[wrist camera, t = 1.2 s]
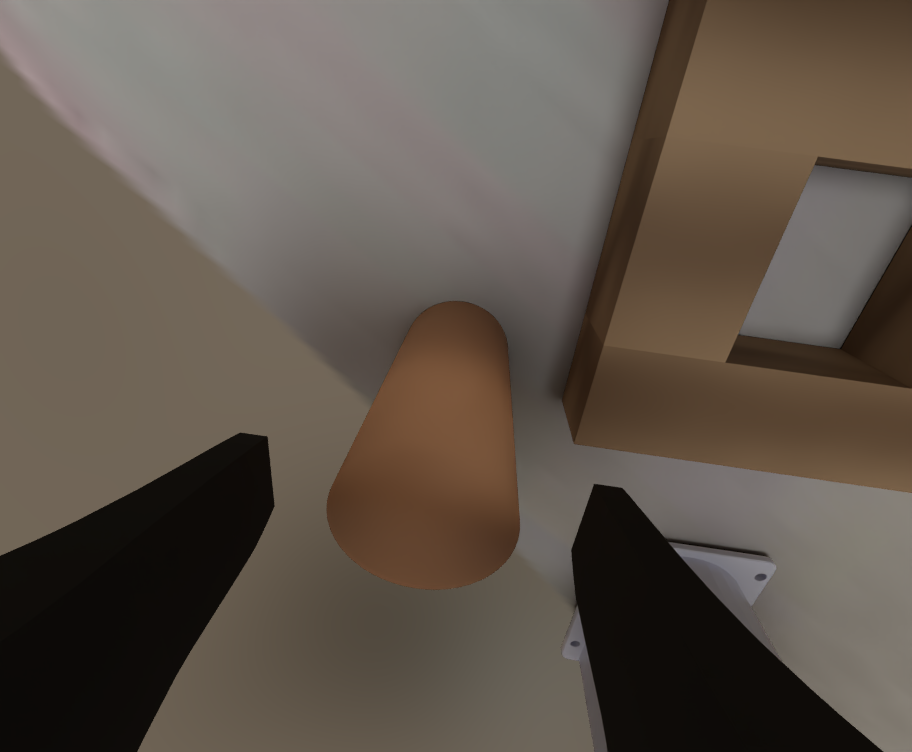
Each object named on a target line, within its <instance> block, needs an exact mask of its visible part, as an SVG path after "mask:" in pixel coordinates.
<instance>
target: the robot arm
mask: <svg viewBox="0 0 912 752" xmlns="http://www.w3.org/2000/svg"><path fill="white" fill-rule="evenodd" d="M273 508H274V497H273V487H272V477H271V467H270V457H269V448H268V437H267V436H260V435H253V434H246V433H239V434H237V435H235V436H233V437H231V438H229V439H227V440H225V441H223V442H222V443H220V444H218V445H216V446H214V447H213V448H211V449H209V450H207V451H205V452H204V453H202V454H200V455H198V456H197V457H195V458H193V459H191V460H190V461H188V462H186V463H184V464H183V465H181V466H179V467H177V468H176V469H174V470H172V471H170V472H168V473H167V474H165V475H163V476H161V477H159V478H157V479H156V480H154V481H152V482H151V483H149V484H147V485H145V486H143V487H142V488H140V489H138V490H136V491H134V492H132V493H130V494H128V495H126V496H124V497H122V498H120V499H118V500H116V501H114V502H113V503H110V504H109V505H107V506H105V507H103V508H101V509H99V510H97V511H95V512H93V513H91V514H89V515H87V516H85V517H84V518H82V519H80V520H78V521H76V522H73V523H71V524H69V525H67V526H65V527H63V528H61V529H59V530H57V531H55V532H52V533H51V534H48V535H46V536H44V537H42V538H40V539H37V540H35V541H33V542H31V543H29V544H26V545H24V546H22V547H19V548H17V549H15V550H13V551H10V552H8V553H6V554H4V555H1V556H0V752H137V751H138V749H139V747H140V745H141V743H142V741H143V739H144V737H145V735H146V733H147V731H148V729H149V727H150V725H151V723H152V721H153V719H154V717H155V715H156V713H157V712H158V710H159V708H160V706H161V704H162V702H163V700H164V698H165V696H166V694H167V692H168V690H169V688H170V686H171V685H172V683H173V681H174V679H175V677H176V675H177V673H178V672H179V670H180V668H181V667H182V665H183V663H184V661H185V660H186V658H187V656H188V655H189V653H190V651H191V650H192V648H193V646H194V645H195V643H196V642H197V640H198V639H199V637H200V635H201V634H202V632H203V630H204V629H205V627H206V626H207V624H208V623H209V621H210V619H211V618H212V616H213V615H214V613H215V612H216V610H217V608H218V607H219V605H220V604H221V602H222V600H223V599H224V597H225V596H226V594H227V593H228V591H229V589H230V588H231V586H232V585H233V583H234V581H235V580H236V578H237V577H238V575H239V573H240V572H241V570H242V568H243V567H244V565H245V564H246V562H247V561H248V559H249V557H250V556H251V554H252V552H253V551H254V549H255V547H256V545H257V543H258V541H259V539H260V537H261V535H262V533H263V531H264V528H265V526H266V524H267V522H268V519H269V517H270V515H271V513H272V511H273ZM571 552H572V564H573V576H574V585H575V594H576V600H577V607H576V609H575V612H574V615H573V617H572V620H571V622H570V625H569V628H568V630H567V633H566V635H565V638H564V641H563V644H562V646H561V653H562V656H563V657H564V658H566V659H570V660H576V661H579V662H580V668H581V673H582V680H583V686H584V692H585V698H586V704H587V710H588V716H589V722H590V728H591V734H592V739H593V746H594V752H883V751H882V750H881V749H879V748H878V747H877V746H876V745H875V744H874V743H872V742H871V741H870V740H869V739H868V738H866V737H865V736H864V735H863V734H862V733H861V732H859V731H858V730H857V729H856V728H855V727H854V726H852V725H851V724H850V723H849V722H848V721H846V720H845V719H844V718H843V717H842V716H841V715H839V714H838V713H837V712H836V711H835V710H834V709H833V708H832V707H830V706H829V705H828V704H827V703H826V702H825V701H824V700H823V699H821V698H820V697H819V696H818V695H817V694H816V693H815V692H814V691H812V690H811V689H810V688H809V687H808V686H807V685H806V684H805V683H804V682H803V681H802V680H801V679H800V678H798V677H797V676H796V675H795V674H794V673H793V672H792V671H791V670H790V669H789V668H788V667H787V666H786V665H785V664H784V663H783V662H782V660H781V659H780V657H779V655H778V653H777V652H776V650H775V648H774V646H773V645H772V643H771V641H770V639H769V638H768V636H767V634H766V632H765V631H764V629H763V627H762V625H761V624H760V622H759V620H758V618H757V617H756V615H755V613H754V611H753V610H752V608H751V607H752V605H753V604H754V602H755V601H756V599H757V598H758V596H759V595H760V593H761V592H762V590H763V589H764V587H765V586H766V584H767V583H768V581H769V580H770V578H771V577H772V575H773V574H774V573H775V571H776V568H777V567H776V564H775V563H774V562H773V560H772V559H771V558H770V557H766V556H760V555H753V554H746V553H740V552H733V551H726V550H720V549H713V548H706V547H699V546H693V545H686V544H679V543H672V542H668V541H667V540H666V539H665V538H664V537H663V535H662V534H661V533H660V532H659V531H658V529H657V528H656V527H655V526H654V525H653V524H652V522H651V521H650V520H649V519H648V518H647V516H646V515H645V514H644V513H643V512H642V510H641V509H640V508H639V507H638V506H637V504H636V503H635V502H634V501H633V500H632V499H631V497H630V496H629V495H628V494H627V493H626V492H625V491H624V489H623V488H619V487H612V486H605V485H598V484H594V486H593V489H592V492H591V495H590V497H589V500H588V503H587V506H586V509H585V512H584V515H583V518H582V521H581V523H580V526H579V529H578V532H577V535H576V538H575V541H574V544H573V547H572V550H571Z"/></svg>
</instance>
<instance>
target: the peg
mask: <svg viewBox="0 0 912 752" xmlns="http://www.w3.org/2000/svg"><path fill="white" fill-rule="evenodd" d="M327 519H328V522H329V526H330V530H331V532H332V534H333V536H334V538H335V540H336V541H337V543H338V544H339V546H340V547H341V548H342V550H343V551H344V552H345V553H346V554H347V555H348V556H349V557H350V558H351V559H352V560H353V561H354V562H355V563H357V564H358V565H359V566H360V567H362V568H363V569H365V570H366V571H368V572H370V573H371V574H373V575H375V576H377V577H379V578H381V579H384V580H387V581H389V582H392V583H395V584H398V585H402V586H406V587H411V588H417V589H426V590H440V589H451V588H457V587H462V586H466V585H469V584H472V583H475V582H477V581H480V580H482V579H484V578H486V577H488V576H489V575H491V574H492V573H494V572H495V571H497V570H498V569H499V568H500V567H501V566H502V565H503V564H504V563H505V562H506V561H507V560H508V558H509V557H510V556H511V554H512V552H513V551H514V549H515V547H516V544H517V541H518V538H519V532H520V518H519V503H518V488H517V474H516V459H515V445H514V430H513V416H512V401H511V386H510V372H509V357H508V344H507V339H506V336H505V333H504V331H503V329H502V327H501V325H500V324H499V322H498V321H497V320H496V319H495V318H494V317H493V316H492V315H491V314H490V313H489V312H487V311H486V310H484V309H483V308H481V307H479V306H477V305H474V304H471V303H467V302H460V301H449V302H443V303H440V304H437V305H434V306H432V307H430V308H428V309H427V310H425V311H424V312H423V313H421V314H420V315H419V316H418V317H417V318H416V320H415V321H414V322H413V324H412V325H411V327H410V329H409V331H408V333H407V335H406V337H405V339H404V342H403V344H402V346H401V348H400V350H399V352H398V354H397V356H396V358H395V360H394V362H393V364H392V366H391V368H390V370H389V372H388V374H387V376H386V378H385V380H384V382H383V384H382V386H381V388H380V390H379V392H378V394H377V396H376V398H375V400H374V402H373V404H372V406H371V408H370V410H369V412H368V414H367V416H366V418H365V420H364V422H363V424H362V426H361V428H360V430H359V432H358V435H357V436H356V438H355V440H354V442H353V444H352V446H351V449H350V451H349V452H348V455H347V457H346V459H345V461H344V463H343V465H342V467H341V469H340V471H339V473H338V475H337V477H336V479H335V481H334V483H333V485H332V487H331V489H330V492H329V496H328V500H327Z"/></svg>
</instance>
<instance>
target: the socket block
mask: <svg viewBox="0 0 912 752" xmlns="http://www.w3.org/2000/svg"><path fill="white" fill-rule="evenodd" d="M814 165H820V166H828V167H835V168H843V169H850V170H858V171H865V172H873V173H880V174H888V175H896V176H903V177H911V178H912V0H669V4H668V8H667V12H666V15H665V19H664V23H663V26H662V30H661V34H660V38H659V41H658V45H657V49H656V52H655V56H654V60H653V64H652V67H651V71H650V75H649V78H648V82H647V86H646V90H645V93H644V97H643V101H642V105H641V108H640V112H639V116H638V119H637V123H636V127H635V131H634V134H633V138H632V142H631V145H630V149H629V153H628V157H627V160H626V164H625V168H624V171H623V175H622V179H621V183H620V186H619V190H618V194H617V197H616V201H615V205H614V209H613V212H612V216H611V220H610V224H609V227H608V231H607V235H606V238H605V242H604V246H603V250H602V253H601V257H600V261H599V264H598V268H597V272H596V276H595V279H594V283H593V287H592V290H591V294H590V298H589V302H588V305H587V309H586V313H585V316H584V320H583V324H582V328H581V331H580V335H579V339H578V343H577V346H576V350H575V354H574V357H573V361H572V365H571V369H570V372H569V376H568V380H567V383H566V387H565V391H564V395H563V398H562V402H563V406H564V409H565V413H566V417H567V420H568V424H569V427H570V431H571V435H572V438H573V442H574V444H578V445H585V446H592V447H599V448H606V449H613V450H619V451H626V452H633V453H640V454H647V455H654V456H661V457H668V458H675V459H682V460H688V461H695V462H702V463H709V464H716V465H723V466H730V467H737V468H744V469H750V470H757V471H764V472H771V473H778V474H785V475H792V476H799V477H806V478H812V479H819V480H826V481H833V482H840V483H847V484H854V485H861V486H868V487H875V488H881V489H888V490H895V491H902V492H909V493H912V227H911V229H910V230H909V232H908V234H907V236H906V237H905V239H904V241H903V243H902V244H901V246H900V248H899V249H898V251H897V253H896V255H895V256H894V258H893V260H892V262H891V263H890V265H889V267H888V269H887V270H886V272H885V274H884V275H883V277H882V279H881V281H880V282H879V284H878V286H877V288H876V289H875V291H874V293H873V294H872V296H871V298H870V300H869V301H868V303H867V305H866V307H865V308H864V310H863V312H862V314H861V315H860V317H859V319H858V320H857V322H856V324H855V326H854V327H853V329H852V331H851V333H850V334H849V336H848V338H847V339H846V341H845V343H844V345H843V346H842V348H841V349H835V348H828V347H820V346H813V345H806V344H799V343H792V342H785V341H777V340H770V339H763V338H756V337H749V336H742V335H738V333H739V331H740V329H741V327H742V324H743V322H744V320H745V318H746V316H747V313H748V311H749V309H750V307H751V304H752V302H753V300H754V298H755V296H756V293H757V291H758V289H759V287H760V284H761V282H762V280H763V278H764V276H765V273H766V271H767V269H768V267H769V264H770V262H771V260H772V258H773V256H774V253H775V251H776V249H777V247H778V245H779V242H780V240H781V238H782V236H783V233H784V231H785V229H786V227H787V225H788V222H789V220H790V218H791V216H792V213H793V211H794V209H795V207H796V205H797V202H798V200H799V198H800V196H801V193H802V191H803V189H804V187H805V185H806V182H807V180H808V178H809V176H810V173H811V171H812V169H813V167H814Z"/></svg>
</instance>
